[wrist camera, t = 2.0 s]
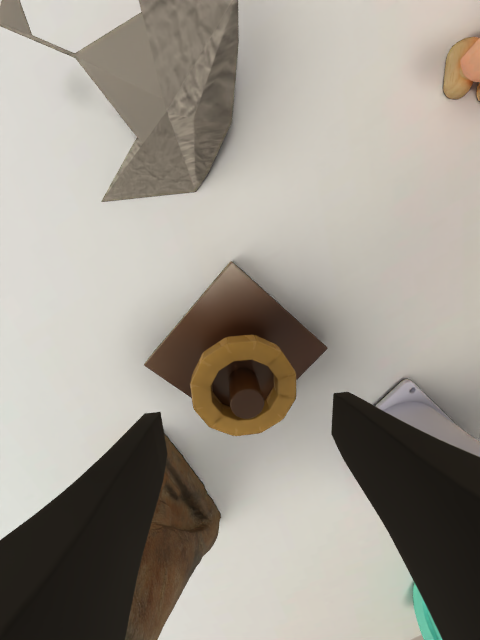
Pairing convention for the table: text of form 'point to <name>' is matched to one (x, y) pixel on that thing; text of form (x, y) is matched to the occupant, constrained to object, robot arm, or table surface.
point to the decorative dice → (424, 617)
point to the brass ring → (239, 350)
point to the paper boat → (162, 88)
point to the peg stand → (234, 320)
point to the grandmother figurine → (462, 68)
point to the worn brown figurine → (171, 546)
